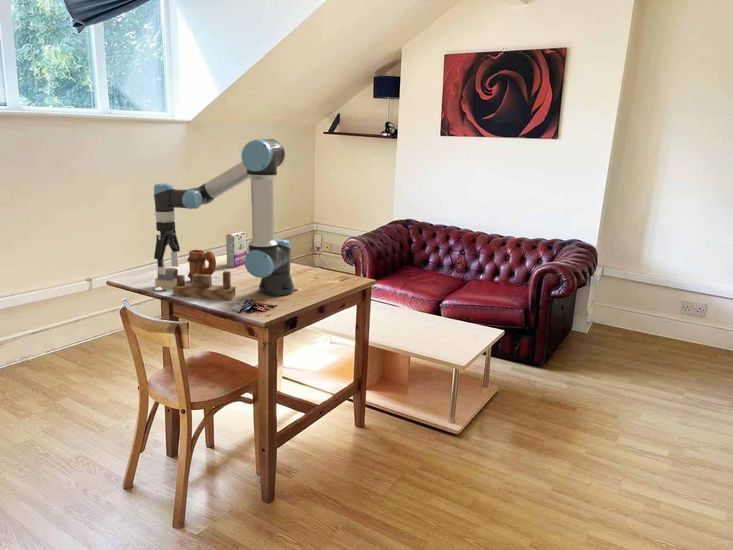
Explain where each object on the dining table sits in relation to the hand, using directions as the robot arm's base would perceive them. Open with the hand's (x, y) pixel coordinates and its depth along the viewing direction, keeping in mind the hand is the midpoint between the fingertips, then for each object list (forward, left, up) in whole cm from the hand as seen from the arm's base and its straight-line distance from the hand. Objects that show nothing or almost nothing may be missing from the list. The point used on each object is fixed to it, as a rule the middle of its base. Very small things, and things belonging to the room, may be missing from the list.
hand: (168, 270), depth 243 cm
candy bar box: (-16, -46, -8) cm, 49 cm away
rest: (0, 0, -8) cm, 8 cm away
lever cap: (0, 0, -4) cm, 4 cm away
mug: (-11, -11, -8) cm, 17 cm away
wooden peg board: (-19, +8, -8) cm, 22 cm away
